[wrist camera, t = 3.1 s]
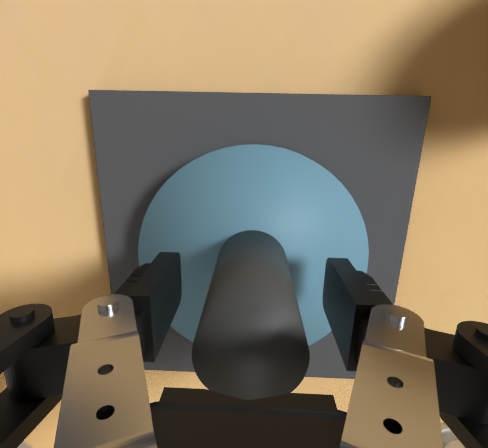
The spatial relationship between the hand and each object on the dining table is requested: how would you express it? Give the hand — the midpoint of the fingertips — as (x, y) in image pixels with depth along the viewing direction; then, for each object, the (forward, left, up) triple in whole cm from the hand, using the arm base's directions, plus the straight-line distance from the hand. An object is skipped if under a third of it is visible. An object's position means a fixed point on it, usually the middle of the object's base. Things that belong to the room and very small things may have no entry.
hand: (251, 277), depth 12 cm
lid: (0, 0, -3) cm, 3 cm away
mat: (0, 0, -3) cm, 3 cm away
